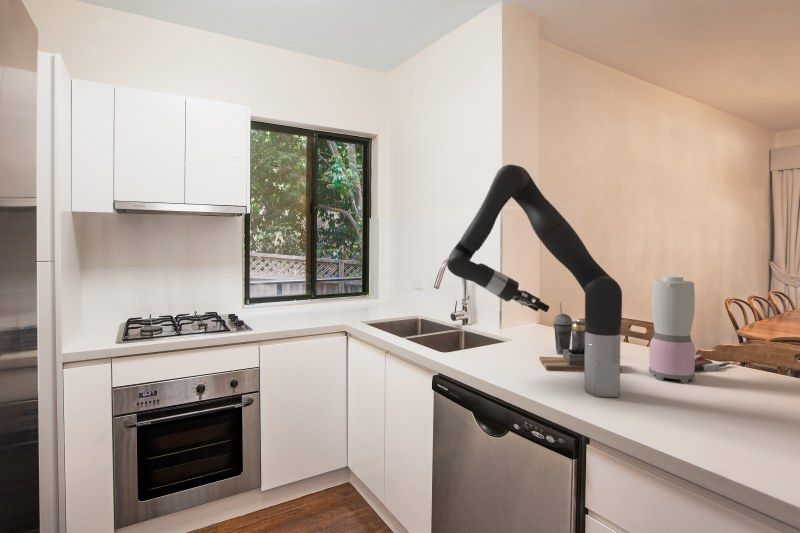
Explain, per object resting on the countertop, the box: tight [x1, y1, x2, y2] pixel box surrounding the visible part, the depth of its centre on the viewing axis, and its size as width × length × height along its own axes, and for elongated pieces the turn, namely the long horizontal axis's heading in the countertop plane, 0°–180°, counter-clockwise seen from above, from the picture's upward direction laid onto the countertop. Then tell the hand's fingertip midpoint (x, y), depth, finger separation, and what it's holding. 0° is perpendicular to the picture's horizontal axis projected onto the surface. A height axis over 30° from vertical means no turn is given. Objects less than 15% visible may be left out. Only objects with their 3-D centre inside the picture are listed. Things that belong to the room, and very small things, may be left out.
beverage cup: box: [553, 302, 573, 356], centre depth 163 cm, size 7×7×20 cm
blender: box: [648, 275, 696, 384], centre depth 134 cm, size 16×12×32 cm
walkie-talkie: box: [694, 353, 731, 373], centre depth 143 cm, size 9×4×20 cm
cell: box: [571, 319, 585, 355], centre depth 145 cm, size 5×5×15 cm
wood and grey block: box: [539, 348, 623, 374], centre depth 145 cm, size 12×24×8 cm, turn 82°
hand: (543, 309), depth 140 cm, fingers open, 8 cm apart
